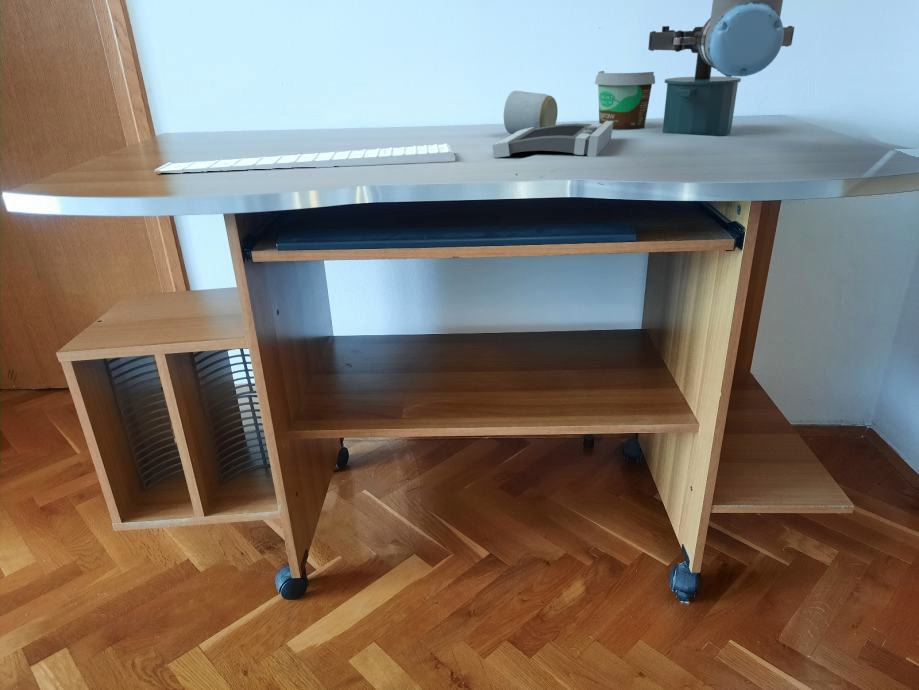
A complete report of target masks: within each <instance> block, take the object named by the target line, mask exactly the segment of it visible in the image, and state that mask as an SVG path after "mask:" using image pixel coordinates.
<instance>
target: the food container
mask: <svg viewBox="0 0 919 690" xmlns="http://www.w3.org/2000/svg"><path fill="white" fill-rule="evenodd" d="M654 73H655V72H654V71H645V72H605V70H600V71H598V72H597V75H596V76H595V79H594V84H595V85H597V89H598V92H597V94H598V124H603V123H604V122H606V121H612V122H613V128H612V130H639V129H644V128H645V126H646V122H647V121H646V120H647V115H648V108H649V103H650V98H651V91H652V86H653V85H655V84H656V77H655V76H656V75H654Z"/></svg>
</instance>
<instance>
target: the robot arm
mask: <svg viewBox="0 0 919 690" xmlns="http://www.w3.org/2000/svg"><path fill="white" fill-rule="evenodd" d="M783 3H784V0H712V4H711V11H710V12H711V13H710V17H709V19H707V21H706V22H705V23H704V24H703V26H694V28H693V29H692V30H682V29H680V30H676V31H675V29H670V25H664V26H663V25H662V26H661V27H662V28H661V31H656V30H653V31H650V32H649V36H648V46H647V47H648V49H647V50H648V51H650V52H654V51H675V52H676V53H677V52H678V53H680V52H681V51H685V50H690V52H691V53H692V54H697V53H700V55H701V57H702V59H703V60H704V62H705V63H706V64H708V65H709V66H711V67H712V69H715V70H716V71H717V72H719V73H720V74H721V75H724V77H740V78H741V77H742V78H743V77H748V76H752V75H755V74H757V73H759V72H761V71H763V70H765V69H766V68H768V67H769V65H770V64H772V63H773V62H774V60H775V59H776V58H777V56H778V54H779V53H780V51H781V48H782V47H786V48H787V47H791V46H792V45H793V39H794V32H795V28H796V27H795V26H793V25H788V26H783V25H784V24H783V21H782V19H781V15H782V9H783Z"/></svg>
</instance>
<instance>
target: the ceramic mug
mask: <svg viewBox="0 0 919 690" xmlns="http://www.w3.org/2000/svg"><path fill="white" fill-rule="evenodd" d="M557 120H558V103H557V101H556V99H555V97H554V96H552V95H549V94H546V93H540V92H529V91H523V90H512V91H511V92H510V93H509V94H508V96H507V98H506V100H505V103H504V107H503V124H504V125H503V126H504V128H505V131H506V132H507V133H508V134H510V135H512V134H514V133H515V132H517V131H519V130H522V129H527V128H531V127H534V129H536V128H541V127H546V126H553V125H557Z"/></svg>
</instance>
